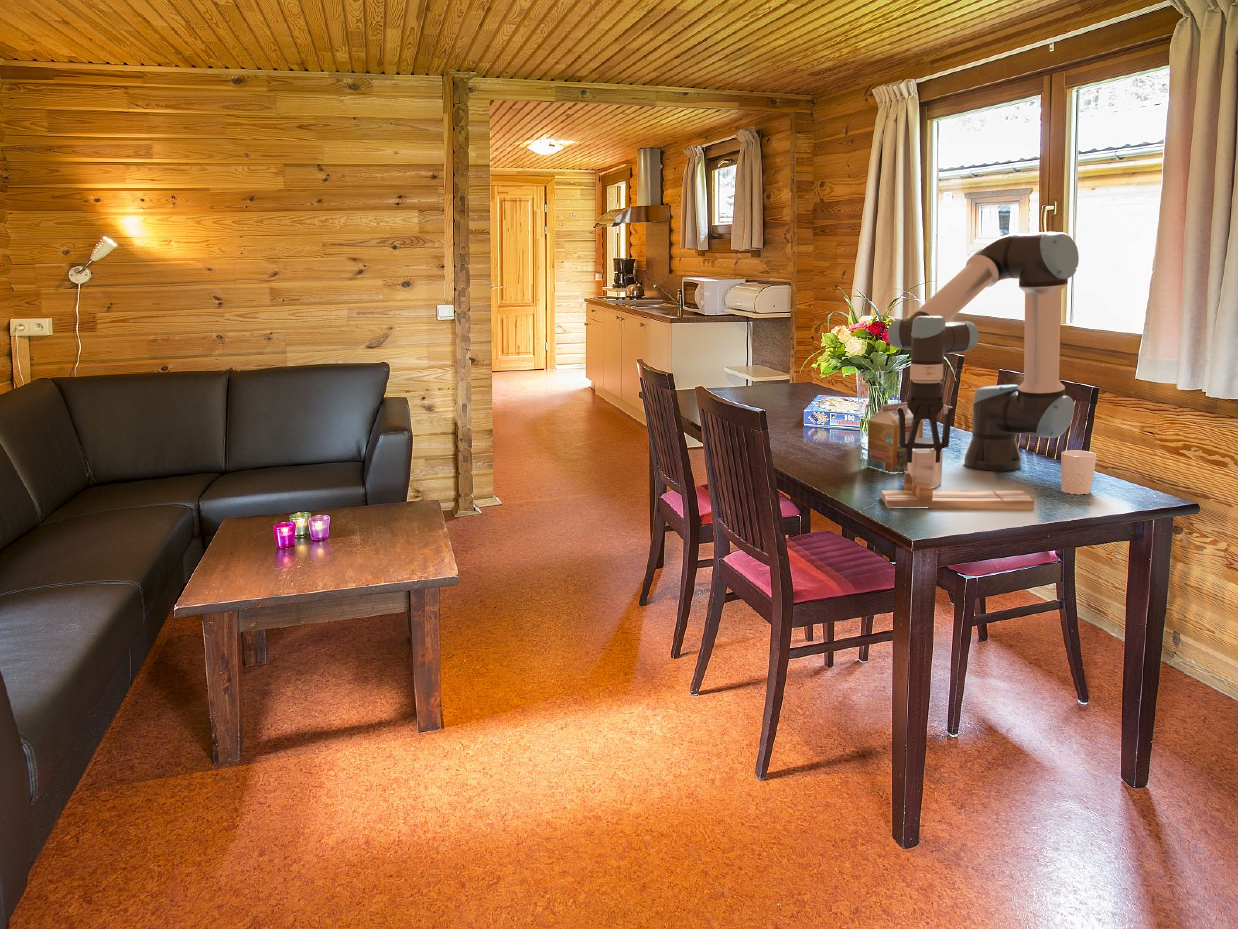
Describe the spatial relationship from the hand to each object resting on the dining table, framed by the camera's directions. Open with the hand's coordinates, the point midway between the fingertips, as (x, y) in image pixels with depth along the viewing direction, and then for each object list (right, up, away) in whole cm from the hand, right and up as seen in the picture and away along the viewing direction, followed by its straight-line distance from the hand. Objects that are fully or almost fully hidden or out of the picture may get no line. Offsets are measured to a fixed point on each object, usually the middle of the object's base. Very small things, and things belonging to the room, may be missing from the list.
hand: (922, 475), depth 228 cm
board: (+8, -7, 0) cm, 11 cm away
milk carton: (+4, +1, +38) cm, 39 cm away
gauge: (0, -7, +2) cm, 7 cm away
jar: (+7, -3, +19) cm, 21 cm away
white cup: (+42, -4, +8) cm, 43 cm away
